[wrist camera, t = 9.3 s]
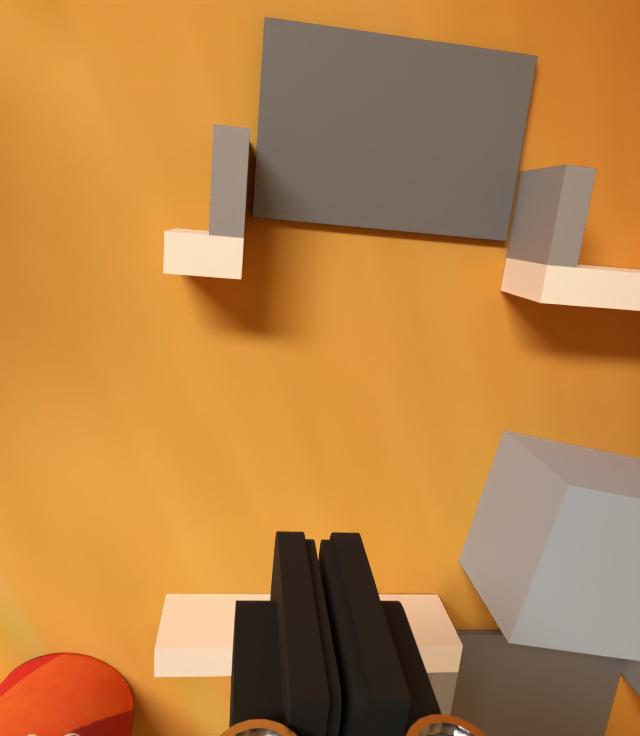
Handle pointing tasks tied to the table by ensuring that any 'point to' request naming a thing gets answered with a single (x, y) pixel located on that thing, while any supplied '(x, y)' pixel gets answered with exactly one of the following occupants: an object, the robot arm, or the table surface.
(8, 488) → the table surface
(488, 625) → the table surface
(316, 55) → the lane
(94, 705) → the paper cup
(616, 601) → the block
